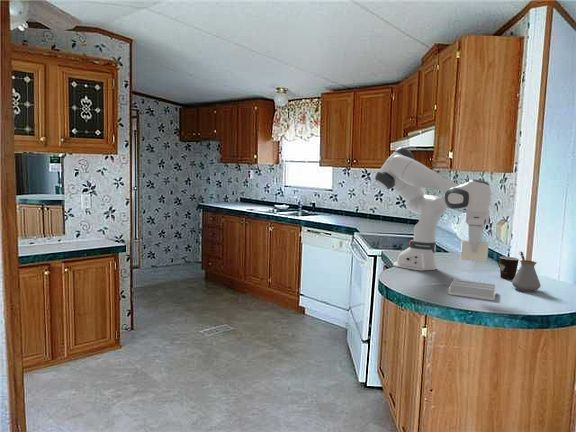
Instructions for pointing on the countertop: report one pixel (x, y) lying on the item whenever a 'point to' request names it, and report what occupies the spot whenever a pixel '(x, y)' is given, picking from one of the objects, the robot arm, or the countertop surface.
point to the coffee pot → (526, 276)
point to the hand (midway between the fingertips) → (474, 251)
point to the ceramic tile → (478, 256)
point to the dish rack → (472, 289)
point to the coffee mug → (508, 267)
